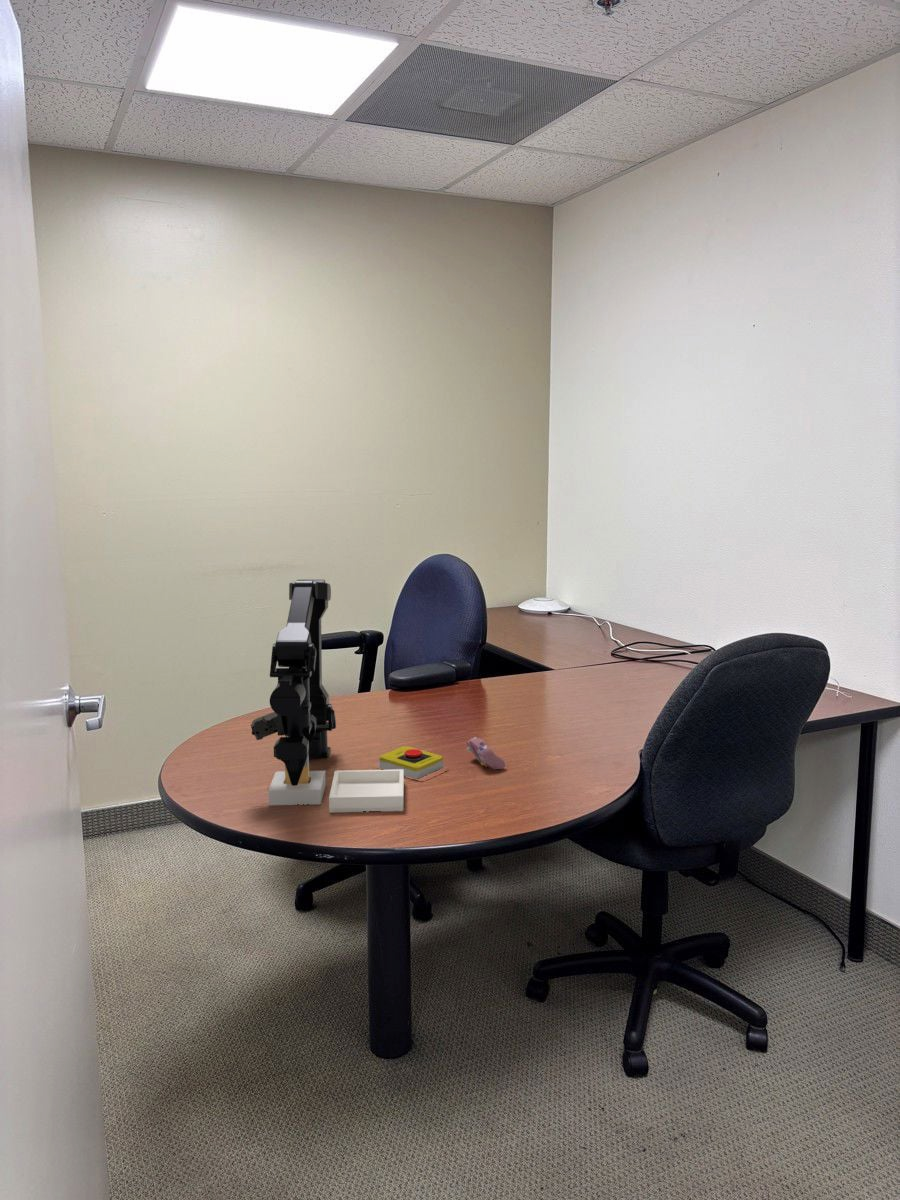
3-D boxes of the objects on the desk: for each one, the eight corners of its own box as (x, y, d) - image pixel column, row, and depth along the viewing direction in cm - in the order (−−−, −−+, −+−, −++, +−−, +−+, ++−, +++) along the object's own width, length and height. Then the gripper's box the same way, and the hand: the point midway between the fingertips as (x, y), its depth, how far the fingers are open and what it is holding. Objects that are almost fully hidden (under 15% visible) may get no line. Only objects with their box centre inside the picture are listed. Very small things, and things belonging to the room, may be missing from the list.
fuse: (287, 792, 176) (286, 754, 175) (309, 792, 176) (308, 754, 175) (286, 797, 174) (284, 758, 172) (308, 797, 174) (307, 758, 173)
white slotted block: (276, 785, 180) (275, 771, 179) (325, 784, 180) (325, 770, 180) (268, 805, 170) (268, 790, 169) (320, 804, 170) (320, 789, 170)
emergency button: (422, 764, 181) (369, 749, 190) (422, 784, 181) (370, 768, 191) (450, 752, 188) (398, 738, 197) (450, 772, 189) (399, 756, 198)
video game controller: (472, 763, 196) (459, 738, 194) (489, 752, 198) (476, 727, 195) (490, 779, 187) (477, 753, 185) (508, 767, 188) (494, 741, 186)
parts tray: (335, 784, 180) (335, 770, 180) (403, 783, 181) (403, 769, 180) (329, 812, 167) (329, 797, 166) (403, 811, 167) (403, 796, 167)
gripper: (261, 688, 181) (264, 760, 183) (244, 715, 162) (248, 795, 165) (315, 687, 181) (317, 759, 184) (305, 714, 163) (307, 794, 165)
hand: (297, 776), depth 174 cm, fingers open, 9 cm apart
